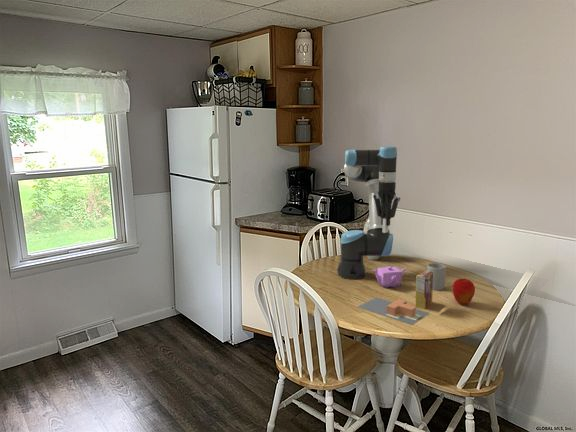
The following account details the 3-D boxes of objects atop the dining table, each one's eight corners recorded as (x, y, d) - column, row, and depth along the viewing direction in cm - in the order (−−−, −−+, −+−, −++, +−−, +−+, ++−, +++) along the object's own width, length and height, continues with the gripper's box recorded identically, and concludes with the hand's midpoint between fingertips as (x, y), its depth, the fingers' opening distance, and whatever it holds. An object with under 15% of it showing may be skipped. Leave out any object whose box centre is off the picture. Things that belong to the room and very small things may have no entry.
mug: (447, 290, 214) (448, 268, 211) (429, 290, 213) (431, 268, 211) (438, 281, 225) (439, 260, 223) (421, 281, 225) (422, 261, 223)
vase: (362, 261, 259) (363, 213, 254) (362, 254, 272) (363, 209, 266) (384, 262, 257) (386, 214, 252) (383, 255, 270) (385, 209, 264)
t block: (386, 313, 186) (386, 305, 185) (398, 306, 193) (399, 298, 192) (407, 320, 179) (407, 312, 179) (419, 312, 186) (419, 304, 186)
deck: (357, 309, 193) (357, 307, 193) (375, 299, 204) (375, 297, 203) (412, 327, 175) (412, 325, 175) (429, 315, 186) (429, 313, 186)
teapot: (375, 292, 212) (376, 272, 210) (367, 282, 225) (368, 264, 223) (412, 290, 214) (413, 270, 212) (402, 280, 227) (402, 262, 225)
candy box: (423, 302, 200) (424, 269, 196) (432, 304, 197) (434, 271, 194) (414, 308, 193) (416, 275, 190) (423, 311, 190) (425, 277, 187)
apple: (478, 305, 195) (480, 279, 193) (461, 308, 192) (463, 282, 190) (463, 298, 204) (465, 273, 201) (447, 300, 201) (448, 275, 199)
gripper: (370, 180, 203) (368, 231, 207) (395, 183, 194) (393, 236, 199) (379, 179, 208) (377, 228, 213) (404, 181, 199) (402, 232, 204)
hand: (385, 232), depth 206 cm, fingers closed
